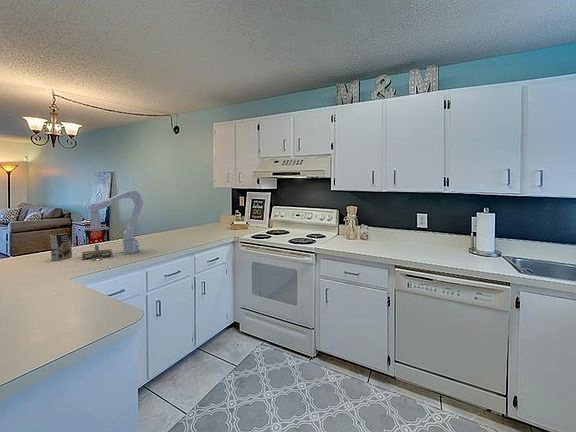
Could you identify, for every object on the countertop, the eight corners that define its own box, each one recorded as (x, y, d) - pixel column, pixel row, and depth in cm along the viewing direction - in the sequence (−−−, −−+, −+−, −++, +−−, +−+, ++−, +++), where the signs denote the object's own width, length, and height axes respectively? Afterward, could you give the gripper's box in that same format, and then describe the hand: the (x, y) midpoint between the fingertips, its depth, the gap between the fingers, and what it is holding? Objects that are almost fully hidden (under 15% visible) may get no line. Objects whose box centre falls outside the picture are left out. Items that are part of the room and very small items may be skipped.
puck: (104, 259, 192) (104, 258, 192) (97, 262, 187) (97, 260, 187) (97, 259, 193) (97, 257, 192) (90, 261, 188) (90, 259, 187)
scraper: (92, 255, 203) (91, 244, 202) (102, 254, 206) (101, 243, 205) (91, 260, 190) (91, 249, 189) (103, 259, 194) (102, 248, 193)
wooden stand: (82, 257, 195) (82, 251, 194) (111, 254, 203) (111, 249, 203) (82, 260, 189) (82, 254, 189) (111, 257, 198) (111, 251, 197)
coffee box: (59, 260, 188) (57, 235, 186) (51, 259, 189) (49, 234, 187) (72, 257, 197) (71, 232, 195) (64, 256, 198) (62, 232, 196)
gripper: (107, 219, 207) (108, 239, 209) (82, 221, 200) (83, 241, 201) (108, 221, 202) (109, 240, 203) (82, 222, 194) (83, 243, 195)
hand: (96, 241), depth 202 cm, fingers open, 7 cm apart
